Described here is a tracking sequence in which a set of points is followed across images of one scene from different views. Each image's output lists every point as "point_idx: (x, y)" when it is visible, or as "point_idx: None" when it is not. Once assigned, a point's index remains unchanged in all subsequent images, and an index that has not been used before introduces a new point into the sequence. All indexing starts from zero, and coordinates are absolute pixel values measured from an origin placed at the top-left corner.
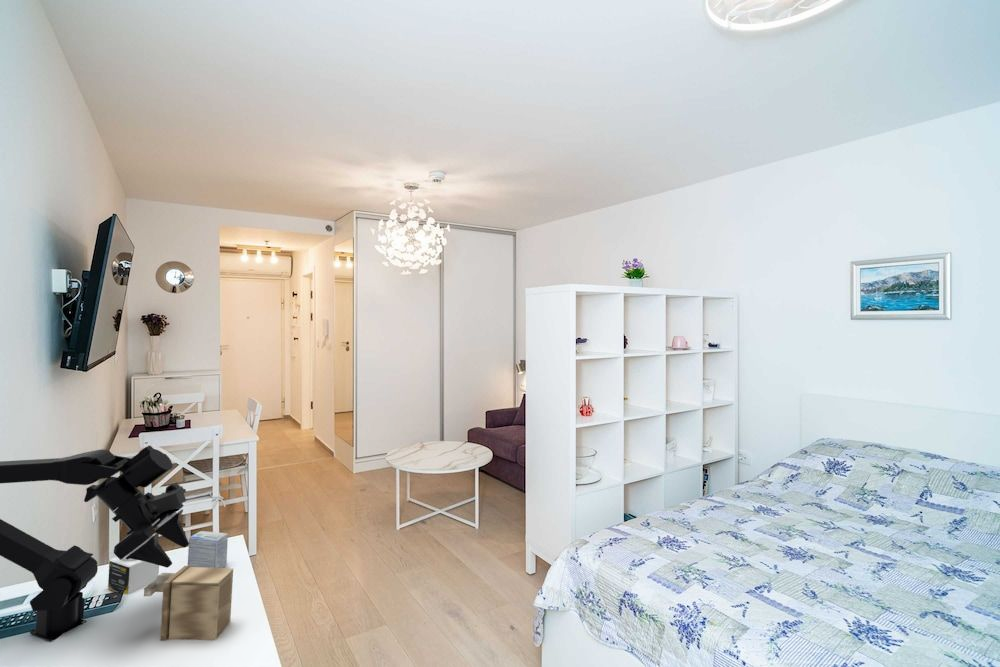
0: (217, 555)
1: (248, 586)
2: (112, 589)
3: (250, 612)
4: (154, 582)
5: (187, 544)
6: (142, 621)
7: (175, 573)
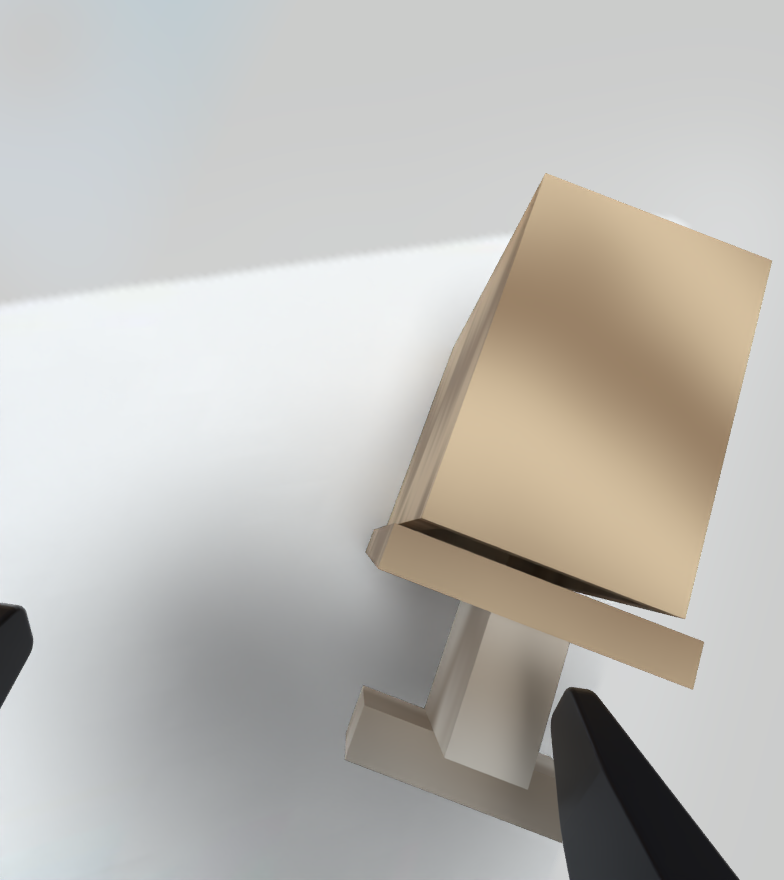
0: None
1: (119, 291)
2: None
3: (376, 275)
4: (473, 782)
5: (16, 618)
6: (295, 741)
7: (526, 623)
